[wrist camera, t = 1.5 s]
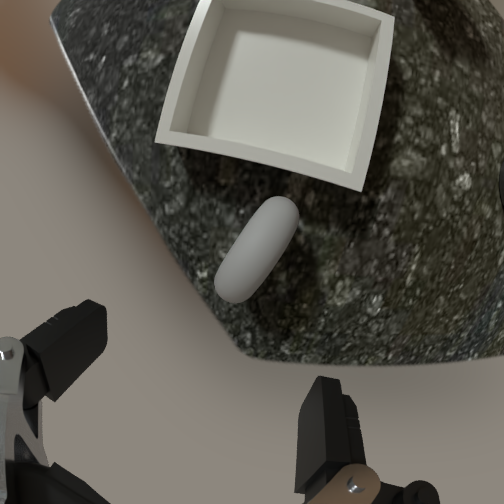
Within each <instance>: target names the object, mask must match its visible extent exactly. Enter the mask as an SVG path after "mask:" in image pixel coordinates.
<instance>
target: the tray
mask: <svg viewBox="0 0 504 504" xmlns="http://www.w3.org/2000/svg"><path fill="white" fill-rule="evenodd" d="M394 18H395V17H393V16H391V15H388V14H385V13H383V12H380V11H377V10H375V9H372V8H369V7H366V6H363V5H360V4H356V3H353V2H350V1H346V0H200V2H199V4H198V6H197V9H196V11H195V14H194V16H193V18H192V21H191V24H190V26H189V29H188V31H187V34H186V37H185V39H184V42H183V45H182V48H181V51H180V53H179V56H178V59H177V62H176V65H175V69H174V72H173V75H172V78H171V81H170V85H169V88H168V92H167V95H166V99H165V102H164V106H163V110H162V114H161V117H160V121H159V125H158V130H157V134H156V138H155V142H156V143H162V144H167V145H172V146H177V147H183V148H189V149H194V150H200V151H205V152H210V153H215V154H220V155H225V156H229V157H234V158H238V159H243V160H247V161H252V162H256V163H260V164H264V165H268V166H272V167H276V168H280V169H284V170H287V171H291V172H295V173H298V174H302V175H306V176H309V177H313V178H316V179H319V180H323V181H326V182H329V183H333V184H336V185H339V186H342V187H345V188H348V189H352V190H356V191H359V192H362V188H363V185H364V181H365V177H366V173H367V170H368V166H369V162H370V158H371V154H372V149H373V145H374V141H375V136H376V132H377V127H378V123H379V118H380V113H381V108H382V103H383V97H384V92H385V86H386V80H387V74H388V68H389V61H390V54H391V46H392V38H393V28H394Z"/></svg>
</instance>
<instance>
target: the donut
mask: <svg viewBox="0 0 504 504" xmlns="http://www.w3.org/2000/svg"><path fill="white" fill-rule="evenodd" d="M298 223H299V211H298V208H297V207H296V205H295V204H294V203H293V202H292V201H291V200H290V199H288V198H286V197H281V196H276V197H271V198H270V199H268V200H266V201H265V202H264V203H263V204H262V205H261V206H260V207H259V209H258V210H257V211H256V213H255V214H254V215H253V216H252V218H251V219H250V221H249V222H248V223H247V225H246V226H245V228H244V229H243V231H242V232H241V234H240V235H239V237H238V238H237V240H236V241H235V243H234V244H233V246H232V247H231V249H230V250H229V252H228V254H227V255H226V257H225V259H224V260H223V262H222V264H221V265H220V267H219V269H218V271H217V274H216V276H215V281H214V284H215V289H216V291H217V293H218V295H219V296H220V297H221V298H222V299H224V300H226V301H228V302H231V303H239V302H243V301H245V300H247V299H248V298H249V297H251V296H252V295H253V293H254V292H255V291H256V290H257V289H258V288H259V286H260V285H261V284H262V283H263V281H264V280H265V279H266V277H267V276H268V275H269V273H270V272H271V271H272V269H273V268H274V266H275V265H276V263H277V262H278V260H279V259H280V257H281V256H282V254H283V252H284V251H285V249H286V247H287V246H288V244H289V242H290V241H291V239H292V237H293V235H294V233H295V231H296V229H297V226H298Z"/></svg>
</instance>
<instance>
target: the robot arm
mask: <svg viewBox="0 0 504 504" xmlns="http://www.w3.org/2000/svg"><path fill="white" fill-rule="evenodd" d="M500 194H501V199H502V203H503V206H504V161H503V163H502V167H501V171H500ZM107 339H108V337H107V311H106V308H105V306H103V305H101V304H98V303H96V302H94V301H91V300H89V299H88V300H85V301H83V302H82V303H81V304H79V305H78V306H76V307H75V306H73V307H70V308H66V309H63V310H61V311H60V312H58V313H57V314H56V315H54V317H51V318H50V319H48V320H47V322H44V323H43V324H41V325H40V326H38V327H37V328H36V329H34V330H33V331H31V332H30V333H29V334H27V335H26V336H25V337H23V338H22V339H20V340H18V339H16V338H13V337H2V338H0V504H110V503H109V502H108V501H106V500H105V499H104V498H103V497H102V496H100V495H99V494H98V493H97V492H96V491H94V490H93V489H92V488H91V487H90V486H89V485H88V484H87V483H86V482H84V481H83V480H81V479H79V478H78V477H76V476H75V475H73V474H72V473H70V472H69V471H67V470H65V469H64V468H62V467H61V466H60V465H58V464H57V463H55V462H54V463H53V465H52V466H51V467H49V464H48V460H47V456H46V454H45V451H44V447H43V439H42V438H43V437H42V401H41V399H42V398H43V397H44V396H47V397H48V398H49V399H51V400H52V401H54V402H56V400H57V399H58V398H59V397H60V396H61V395H62V394H63V393H64V392H65V391H66V390H67V389H68V388H69V387H70V386H71V385H72V384H73V382H74V381H75V380H76V379H77V378H78V377H79V376H80V375H81V374H82V373H83V372H84V371H85V370H86V369H87V368H88V367H89V366H90V365H91V364H92V363H93V362H94V361H95V360H96V358H98V357H99V356H100V355H101V353H103V351H104V349H105V347H106V345H107ZM358 418H359V417H358V412H357V407H356V405H355V403H354V402H353V400H352V399H351V397H350V396H349V395H344V394H342V390H341V384H340V380H339V379H333V378H329V377H324V376H318V377H317V378H316V380H315V382H314V383H313V385H312V387H311V389H310V391H309V393H308V395H307V397H306V398H305V400H304V402H303V404H302V406H301V409H300V413H299V419H298V441H297V460H296V477H295V491H294V493H300V494H305V502H304V503H303V504H440V501H439V495H438V492H437V490H436V489H435V487H434V486H433V485H432V484H430V483H428V482H426V481H422V480H418V481H414V482H412V483H410V484H409V485H408V486H406V487H405V488H403V487H399V486H395V485H391V484H387V483H383V482H381V481H380V479H379V477H378V475H377V473H376V472H375V471H374V470H373V469H371V468H370V467H368V466H367V465H366V459H365V453H364V447H363V440H362V434H361V430H360V424H359V420H358Z"/></svg>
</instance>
